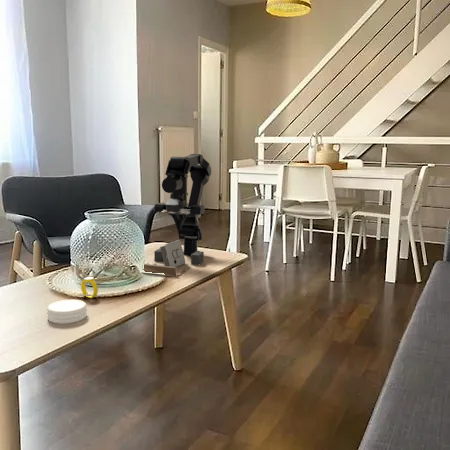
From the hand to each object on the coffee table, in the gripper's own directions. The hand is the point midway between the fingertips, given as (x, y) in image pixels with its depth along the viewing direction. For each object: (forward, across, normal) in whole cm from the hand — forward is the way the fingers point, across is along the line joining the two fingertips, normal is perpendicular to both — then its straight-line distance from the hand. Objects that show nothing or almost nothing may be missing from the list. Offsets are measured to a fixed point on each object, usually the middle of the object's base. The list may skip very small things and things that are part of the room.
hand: (179, 230), depth 186 cm
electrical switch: (+12, 0, -6) cm, 14 cm away
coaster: (+12, -7, -64) cm, 66 cm away
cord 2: (+12, +8, 0) cm, 14 cm away
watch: (+12, -10, -48) cm, 51 cm away
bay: (+12, 0, -13) cm, 18 cm away
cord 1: (+12, -8, 0) cm, 14 cm away
